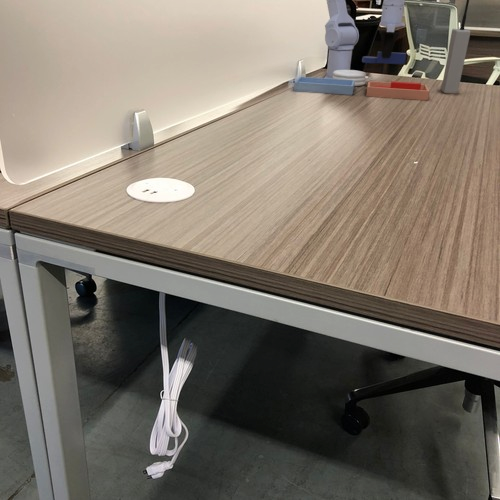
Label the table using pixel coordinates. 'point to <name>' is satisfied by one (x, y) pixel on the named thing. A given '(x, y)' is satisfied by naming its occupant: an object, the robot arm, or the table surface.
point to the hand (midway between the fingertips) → (385, 57)
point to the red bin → (396, 91)
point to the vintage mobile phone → (456, 57)
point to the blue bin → (324, 85)
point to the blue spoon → (394, 58)
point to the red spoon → (403, 85)
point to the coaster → (351, 76)
